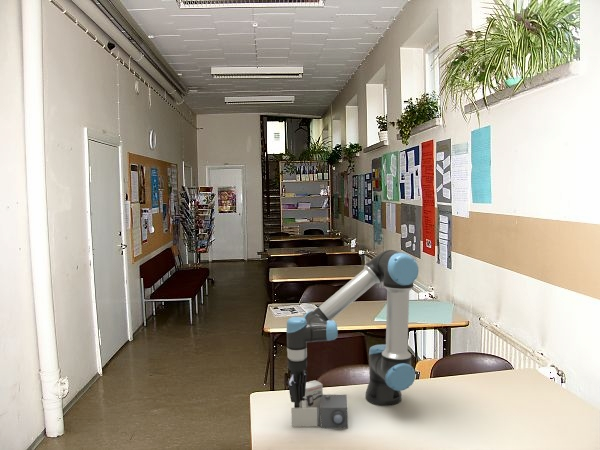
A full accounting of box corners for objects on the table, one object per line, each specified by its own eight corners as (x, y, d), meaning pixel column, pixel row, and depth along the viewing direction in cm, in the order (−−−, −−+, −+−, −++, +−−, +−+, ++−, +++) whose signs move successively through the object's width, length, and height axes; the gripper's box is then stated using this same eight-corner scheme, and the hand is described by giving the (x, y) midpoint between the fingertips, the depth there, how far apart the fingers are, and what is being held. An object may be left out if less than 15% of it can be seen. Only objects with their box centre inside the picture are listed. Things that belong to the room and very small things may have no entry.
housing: (346, 414, 203) (346, 392, 203) (347, 430, 190) (347, 408, 189) (321, 413, 204) (321, 392, 203) (320, 430, 190) (320, 407, 190)
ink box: (306, 417, 202) (305, 388, 201) (299, 412, 206) (298, 384, 205) (323, 411, 206) (323, 383, 205) (316, 407, 210) (315, 379, 210)
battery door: (291, 425, 194) (291, 407, 193) (320, 424, 194) (319, 407, 193) (291, 426, 193) (291, 408, 192) (320, 426, 192) (319, 408, 192)
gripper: (296, 351, 201) (297, 408, 203) (280, 362, 190) (281, 422, 192) (313, 354, 198) (314, 412, 200) (298, 365, 186) (299, 426, 189)
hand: (298, 417), depth 196 cm, fingers closed
